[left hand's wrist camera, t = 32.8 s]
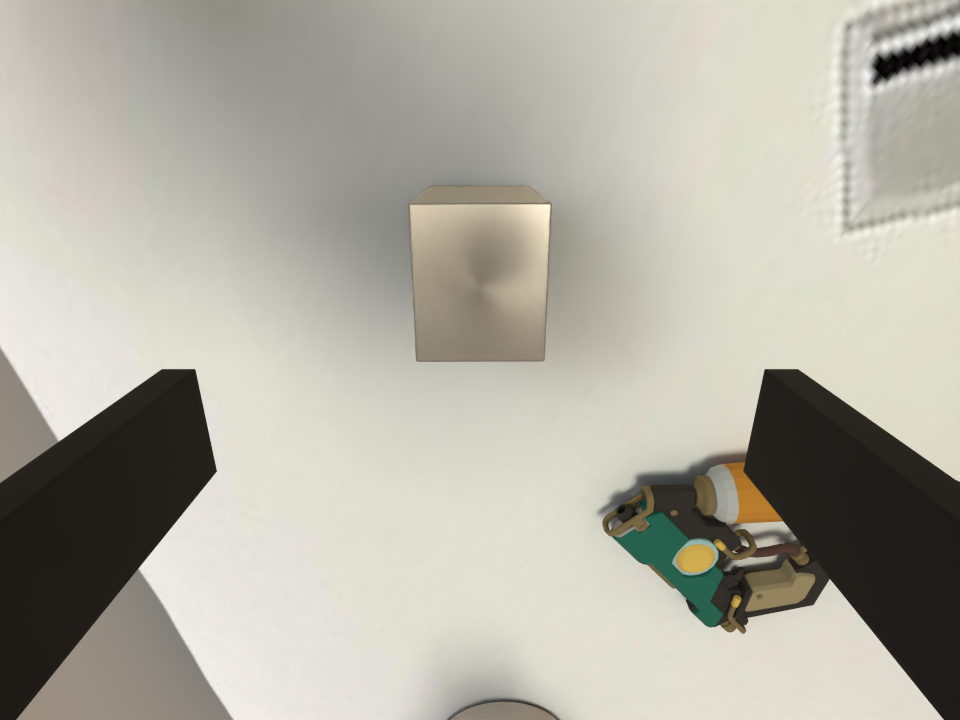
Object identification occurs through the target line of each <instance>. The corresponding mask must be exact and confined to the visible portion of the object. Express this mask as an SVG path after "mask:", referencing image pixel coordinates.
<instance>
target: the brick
mask: <svg viewBox="0 0 960 720" xmlns="http://www.w3.org/2000/svg"><path fill="white" fill-rule="evenodd" d="M551 208H552V204H551V203H550V202H549V201H548V200H546V199H545V198H544V197H543V196H541V195H540V194H539V193H538V192H536V191H535V190H534V189H533V188H531V187H530V186H430V187H429V188H427V189H426V190H425V191H424V192H422V193H421V194H420V195H419V196H418V197H416V198H415V199H414V200H413V201H412V202H410V203H409V226H410V246H411V266H412V287H413V307H414V327H415V348H416V361H418V362H450V361H544V360H545V340H546V318H547V296H548V274H549V252H550V230H551Z"/></svg>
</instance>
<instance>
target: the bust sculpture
mask: <svg viewBox="0 0 960 720" xmlns="http://www.w3.org/2000/svg"><path fill="white" fill-rule="evenodd" d="M450 720H557V719H556V718H554V717H553V716H552V715H550V714H549V713H547V712H545V711H543V710H541V709H539V708H537V707H534V706H531V705H527V704H523V703H517V702H491V703H485V704H480V705H477V706H474V707H471V708H468V709H466V710H464V711H462V712H460V713H458V714H457V715H455V716H454V717H453V718H451V719H450Z"/></svg>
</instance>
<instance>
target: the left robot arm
mask: <svg viewBox="0 0 960 720" xmlns="http://www.w3.org/2000/svg"><path fill="white" fill-rule="evenodd" d="M216 472H217V470H216V465H215V460H214V456H213V451H212V446H211V442H210V437H209V432H208V427H207V423H206V418H205V413H204V408H203V404H202V399H201V394H200V390H199V385H198V380H197V375H196V371H195V369H162V370H160V371H159V372H157V373H156V374H155V375H153V376H152V377H150V378H149V379H148V380H146V381H145V382H143V383H142V384H140V385H139V386H138V387H136V388H135V389H133V390H132V391H130V392H129V393H128V394H126V395H125V396H123V397H122V398H120V399H119V400H118V401H116V402H115V403H113V404H112V405H111V406H109V407H108V408H106V409H105V410H103V411H102V412H101V413H99V414H98V415H96V416H95V417H93V418H92V419H91V420H89V421H88V422H86V423H85V424H84V425H82V426H81V427H79V428H78V429H76V430H75V431H74V432H72V433H71V434H69V435H68V436H66V437H65V438H64V439H62V440H61V441H59V442H58V443H57V444H55V445H54V446H52V447H51V448H49V449H48V450H47V451H45V452H44V453H42V454H41V455H39V456H38V457H37V458H35V459H34V460H32V461H31V462H29V463H28V464H27V465H25V466H24V467H22V468H21V469H20V470H18V471H17V472H15V473H14V474H12V475H11V476H10V477H8V478H7V479H5V480H4V481H2V482H1V483H0V720H16V719H17V718H18V717H19V715H20V714H21V713H22V712H23V711H24V709H25V708H26V707H27V706H28V704H29V703H30V702H31V701H32V699H33V698H34V697H35V696H36V694H37V693H38V692H39V691H40V690H41V688H42V687H43V686H44V685H45V683H46V682H47V681H48V680H49V678H50V677H51V676H52V675H53V673H54V672H55V671H56V670H57V668H58V667H59V666H60V665H61V664H62V662H63V661H64V660H65V659H66V657H67V656H68V655H69V654H70V652H71V651H72V650H73V649H74V647H75V646H76V645H77V644H78V642H79V641H80V640H81V639H82V638H83V636H84V635H85V634H86V633H87V631H88V630H89V629H90V628H91V626H92V625H93V624H94V623H95V621H96V620H97V619H98V618H99V616H100V615H101V614H102V613H103V612H104V610H105V609H106V608H107V607H108V605H109V604H110V603H111V602H112V600H113V599H114V598H115V597H116V595H117V594H118V593H119V592H120V590H121V589H122V588H123V587H124V586H125V584H126V583H127V582H128V581H129V579H130V578H131V577H132V576H133V574H134V573H135V572H136V571H137V569H138V568H139V567H140V566H141V565H142V563H143V562H144V561H145V560H146V558H147V557H148V556H149V555H150V553H151V552H152V551H153V550H154V548H155V547H156V546H157V545H158V544H159V542H160V541H161V540H162V539H163V537H164V536H165V535H166V534H167V532H168V531H169V530H170V529H171V527H172V526H173V525H174V524H175V522H176V521H177V520H178V519H179V518H180V516H181V515H182V514H183V513H184V511H185V510H186V509H187V508H188V506H189V505H190V504H191V503H192V501H193V500H194V499H195V498H196V496H197V495H198V494H199V493H200V492H201V490H202V489H203V488H204V487H205V485H206V484H207V483H208V482H209V480H210V479H211V478H212V477H213V475H214V474H215V473H216ZM743 472H744V473H745V474H746V475H747V477H748V478H749V479H750V480H751V482H752V483H753V484H754V485H755V487H756V488H757V489H758V490H759V492H760V493H761V494H762V495H763V496H764V498H765V499H766V500H767V501H768V503H769V504H770V505H771V506H772V508H773V509H774V510H775V511H776V513H777V514H778V515H779V516H780V518H781V519H782V520H783V521H784V522H785V524H786V525H787V526H788V527H789V529H790V530H791V531H792V532H793V534H794V535H795V536H796V537H797V539H798V540H799V541H800V542H801V544H802V545H803V546H804V547H805V548H806V550H807V551H808V552H809V553H810V555H811V556H812V557H813V558H814V560H815V561H816V562H817V563H818V565H819V566H820V567H821V568H822V569H823V571H824V572H825V573H826V574H827V576H828V577H829V578H830V579H831V581H832V582H833V583H834V584H835V586H836V587H837V588H838V589H839V591H840V592H841V593H842V594H843V595H844V597H845V598H846V599H847V600H848V602H849V603H850V604H851V605H852V607H853V608H854V609H855V610H856V612H857V613H858V614H859V615H860V617H861V618H862V619H863V620H864V621H865V623H866V624H867V625H868V626H869V628H870V629H871V630H872V631H873V633H874V634H875V635H876V636H877V638H878V639H879V640H880V641H881V643H882V644H883V645H884V646H885V647H886V649H887V650H888V651H889V652H890V654H891V655H892V656H893V657H894V659H895V660H896V661H897V662H898V664H899V665H900V666H901V667H902V668H903V670H904V671H905V672H906V673H907V675H908V676H909V677H910V678H911V680H912V681H913V682H914V683H915V685H916V686H917V687H918V688H919V690H920V691H921V692H922V693H923V694H924V696H925V697H926V698H927V699H928V701H929V702H930V703H931V704H932V706H933V707H934V708H935V709H936V711H937V712H938V713H939V714H940V716H941V717H942V718H943V719H944V720H960V482H959V481H957V480H955V479H953V478H952V477H950V476H949V475H948V474H946V473H945V472H943V471H942V470H940V469H939V468H938V467H936V466H935V465H933V464H932V463H931V462H929V461H928V460H926V459H925V458H923V457H922V456H921V455H919V454H918V453H916V452H915V451H913V450H912V449H911V448H909V447H908V446H906V445H905V444H903V443H902V442H901V441H899V440H898V439H896V438H895V437H894V436H892V435H891V434H889V433H888V432H886V431H885V430H884V429H882V428H881V427H879V426H878V425H876V424H875V423H874V422H872V421H871V420H869V419H868V418H867V417H865V416H864V415H862V414H861V413H859V412H858V411H857V410H855V409H854V408H852V407H851V406H849V405H848V404H847V403H845V402H844V401H842V400H841V399H840V398H838V397H837V396H835V395H834V394H832V393H831V392H830V391H828V390H827V389H825V388H824V387H822V386H821V385H820V384H818V383H817V382H815V381H814V380H812V379H811V378H810V377H808V376H807V375H805V374H804V373H803V372H801V371H800V370H798V369H765V371H764V375H763V380H762V385H761V389H760V394H759V399H758V404H757V408H756V413H755V418H754V423H753V427H752V432H751V437H750V442H749V446H748V451H747V456H746V460H745V465H744V470H743Z"/></svg>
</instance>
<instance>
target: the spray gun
mask: <svg viewBox="0 0 960 720" xmlns="http://www.w3.org/2000/svg"><path fill="white" fill-rule="evenodd" d="M744 465H745V462H739V463H728V464H719V465H716V466H714V467H711V468H710V469H709V470H708V472H707V473H706V475H698V476H697V477H696V478H695V481H694V485H693V486H690V485H653V486H649V485H646V486H642V488H641V493H640V494H639V495H637V496H636V497H634V498H633V499H631V500H629V501H628V502H626V503H625V504H622V505H620V506H619V507H618V508H617V509H615V510H614V511H612V512H611V513H609V514H608V515H607V516H605V517H604V519H603V528H604V531H605V532H606V533H607V534H608V535H609V536H612V537H613V538H614V539H615V540H616V541H617V542H618V543H619V544H620V545H621V546H622V547H623V548H624V549H625V550H626V551H628V552H629V553H630V554H631V555H632V556H633V557H634V558H635V559H636V560H637V561H638V562H640V563H642V564H646V565H648V566H649V567H650V568H651V569H652V570H654V571H655V572H656V573H657V574H658V575H659V576H660V577H661V578H662V579H663V580H664V581H665V582H666V583H667V584H668V585H669V586H670V587H672V588H676V589H677V590H678V591H679V592H681V593H682V594H683V595H684V596H685V597H686V598H687V599H686V602H687V604H688V607H689V609H690V611H691V612H692V613H693V614H694V615H695V616H696V617H697V618H698V619H699V620H700V621H701V622H703V623H704V624H705V625H706V626H708V627H716V626H718V625H721V627H723V628H724V629H725V630H726V631H727V632H733V631H734V630H735V629H736V628H737V629H738V630H739V631H740V632H741V633H743V634H744V633H745V632H746V629H745V627H744V625H746V624H747V623H748V619H747V618H749V617H754V616H759V615H764V614H769V613H775V612H780V611H785V610H790V609H795V608H800V607H805V606H810V605H814V603H815V601H816V600H817V598H818V597H819V595H820V593H821V592H822V590H823V589H824V587H825V586H826V584H827V582H828V581H829V579H830V578H829V577H828V576H827V574H826V573H825V572H824V571H823V569H822V568H821V567H820V566H819V565H818V563H817V562H816V561H815V560H814V558H813V557H812V556H811V555H810V553H809V552H808V551H807V550H806V548H805V547H804V546H801V547H799V546H795V545H792V544H788V543H787V544H778V545H773V546H769V547H762V548H757V546H756V544H755V541H754V539H753V537H752V536H751V535H750V533H749V532H748V531H747V530H745V529H739V530H737V531H735V532H733V531H732V530H731V529H730V528H729V527H728V526H727V525H726V524H725V523H724V522H726V523H731V524H737V523H756V522H776V521H783V520H782V519H781V518H780V516H779V515H778V514H777V513H776V511H775V510H774V509H773V508H772V506H771V505H770V504H769V503H768V501H767V500H766V499H765V498H764V496H763V495H762V494H761V493H760V492H759V490H758V489H757V488H756V487H755V485H754V484H753V483H752V482H751V480H750V479H749V478H748V477H747V475H746V474H745V473H744V472H743V470H744ZM644 498H645V499H646V501H641V502H640V507H639V506H638V505H637V504H636V503H637V502H639V501H640V500H642V499H644ZM695 505H696V506H697V507H698V509H699V510H700V512H701V513H702V514H704V515H713V516H714V517H715V518H716V519H714V518H708V517H702V516H701V515H700V514H699V513H698V512H697V511H696V510H695V509H694V507H695ZM616 516H617V518H618V519H619V520H617V521H616V522H614V524H613V526H612V529H611V531H610V530H609V527H608V523H609V521H610V520H611V519H612V518H614V517H616ZM740 536H744V537H745V538H746V540H747V541H748V543H749V547H745V546H743V545H741V544H742V543H741V541H740V539H739V538H738V537H740ZM733 550H734V551H736V552H737V553H733V552H731V551H733ZM782 553H788V554H789V555H790V556H791V557H790V558H787V559H786V560H784V562H783V563H782V566H781V567H780V569H773V570H766V571H759V572H752V573H747V574H745V575H743V574H744V569H743V567H738V568H737V569H736V570H735V571H732V572H727V571H726V572H725V571H722V570H721V568H720V567H721V566H722V564H723V562H724V561H725V559H726V558H727V556H728V557H729V558H731V559H734V560H742V559H745V558H748V557H767V556H773V555H778V554H782ZM734 618H735V619H734Z"/></svg>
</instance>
